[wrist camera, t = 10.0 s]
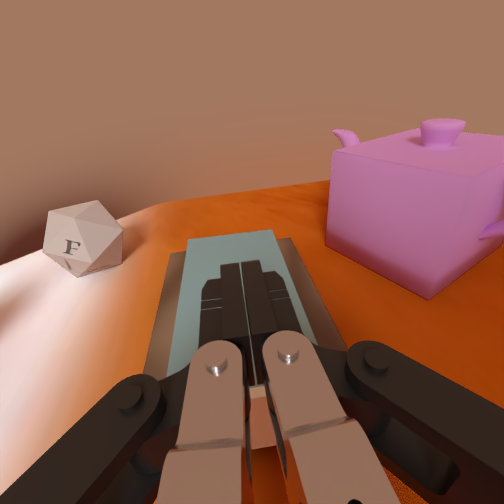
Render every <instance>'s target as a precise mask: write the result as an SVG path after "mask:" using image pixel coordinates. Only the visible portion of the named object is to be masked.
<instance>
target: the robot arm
mask: <svg viewBox="0 0 504 504" xmlns="http://www.w3.org/2000/svg"><path fill="white" fill-rule="evenodd" d="M241 270H242V278H243V286H244V294H243V287H242V280H241V273H240V266H239V262H237V263H230V264H222V265H220V276H221V278H217V279H210V280H207V282H206V283H205V285H204V287H203V288H202V292H201V311H200V327H199V344H198V350H197V351H196V352H195V354H194V355H193V357H192V359H191V362H190V363H189V364H188V365H187V366H186V367H185V368H183V369H182V370H180V371H178V372H176V373H174V374H172V375H170V376H168V377H166V378H164V379H161V380H159V381H157V380H156V379H155V378H154V377H152V376H150V375H147V374H137V375H133V376H130V377H127V378H125V379H124V380H122V381H120V382H119V383H117V384H116V385H115V386H114V387H113V388H112V389H111V390H110V391H109V392H108V393H107V394H106V395H105V396H104V397H102V398H101V399H100V400H99V401H98V402H97V403H96V404H95V405H94V406H93V407H92V408H91V409H90V410H89V411H88V412H87V413H86V414H85V415H84V416H83V417H82V418H81V419H80V420H79V421H78V422H76V423H75V424H74V425H73V426H72V427H71V428H70V429H69V430H68V431H67V432H66V433H65V434H64V435H63V436H62V437H61V438H60V439H59V440H58V441H57V442H56V443H55V444H54V445H53V446H51V447H50V448H49V449H48V450H47V451H46V452H45V453H44V454H43V455H42V456H41V457H40V458H39V459H38V460H37V461H36V462H35V463H34V464H33V465H32V466H31V467H30V468H29V469H28V470H27V471H25V472H24V473H23V474H22V475H21V476H20V477H19V478H18V479H17V480H16V481H15V482H14V483H13V484H12V485H11V486H10V487H9V488H8V489H7V490H6V491H5V492H4V493H3V494H2V495H1V496H0V504H153V502H154V501H155V499H156V498H157V501H156V504H255V503H254V491H253V469H252V442H251V416H250V411H251V398H250V389H249V386H255V378H254V370H253V362H252V353H251V345H250V337H251V344H252V351H253V358H254V365H255V372H256V379H257V385H261V384H264V387H265V393H266V399H267V409H268V414H269V418H270V422H271V427H272V431H273V435H274V439H275V443H276V447H277V452H278V456H279V460H280V464H281V468H282V472H283V476H284V481H285V486H286V491H287V497H288V503H289V504H401V503H400V501H399V499H398V497H397V495H396V493H395V491H394V489H393V487H392V485H391V483H390V481H389V479H388V477H387V475H386V473H385V471H384V469H383V467H382V465H383V466H384V467H385V468H386V469H387V470H389V471H390V472H391V473H392V474H394V475H395V476H396V477H397V478H398V479H400V480H401V481H402V482H403V483H405V484H406V485H407V486H408V487H409V488H411V489H412V490H413V491H414V492H415V493H417V494H418V495H419V496H420V497H422V498H423V499H424V500H425V501H426V502H428V503H429V504H504V409H503V408H501V407H499V406H497V405H496V404H494V403H492V402H490V401H488V400H486V399H485V398H483V397H481V396H479V395H477V394H475V393H473V392H472V391H470V390H468V389H466V388H464V387H462V386H461V385H459V384H457V383H455V382H453V381H451V380H450V379H448V378H446V377H444V376H442V375H440V374H438V373H437V372H435V371H433V370H431V369H429V368H427V367H426V366H424V365H422V364H420V363H418V362H416V361H414V360H413V359H411V358H409V357H407V356H405V355H403V354H402V353H400V352H398V351H396V350H394V349H392V348H390V347H389V346H387V345H385V344H382V343H379V342H375V341H361V342H358V343H356V344H354V345H353V346H351V347H350V349H349V350H348V352H347V351H339V350H332V349H326V348H323V347H320V346H318V345H315V344H314V343H312V342H311V341H310V340H309V339H308V338H306V336H305V335H304V334H303V332H302V330H301V327H300V324H299V321H298V318H297V316H296V313H295V310H294V307H293V304H292V302H291V299H290V296H289V293H288V290H287V287H286V285H285V282H284V279H283V278H282V277H281V276H280V275H279V274H278V273H277V272H276V271H269V272H263V271H262V267H261V263H260V260H252V261H244V262H241ZM244 295H245V301H244ZM245 302H246V308H245ZM246 310H247V315H246ZM247 316H248V322H247ZM248 323H249V329H248ZM249 330H250V337H249Z"/></svg>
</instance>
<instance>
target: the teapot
mask: <svg viewBox="0 0 504 504" xmlns="http://www.w3.org/2000/svg"><path fill="white" fill-rule="evenodd" d="M465 124H466V122H465V121H463V120H459V119H445V118H444V119H429V120H425V121H423V122H421V123H420V129H418V128H417V129H413V130H409V131H405V132H401V133H398V134H393V135H390V136H386V137H382V138H378V139H375V140H371V141H367V142H363V143H360V141H359V139H358V137H357V136H356V134H355V133H353V132H352V131H348V130H342V129H332V130H331V131H332V132H333V133H334V134H335V135H336V136H337V137H338V138H339V139H340V141H341V143H342V145H343V148H341V149H338V150H335V151H334V152H333V154H332V165H331V177H330V190H329V203H328V215H327V228H326V240H325V246H327V247H329V248H331V249H333V250H335V251H336V252H338V253H340V254H342V255H344V256H346V257H348V258H349V259H351V260H353V261H355V262H357V263H359V264H361V265H362V266H364V267H366V268H368V269H370V270H372V271H374V272H375V273H377V274H379V275H381V276H383V277H385V278H387V279H389V280H390V281H392V282H394V283H396V284H398V285H400V286H402V287H403V288H405V289H407V290H409V291H411V292H413V293H415V294H416V295H418V296H420V297H422V298H424V299H426V300H428V301H429V300H430V299H431V298H432V297H434V296H435V295H436V294H438V293H439V292H440V291H442V290H443V289H444V288H446V287H447V286H448V285H450V284H451V283H452V282H454V281H455V280H456V279H458V278H459V277H460V276H462V275H463V274H464V273H466V272H467V271H468V270H470V269H471V268H472V267H474V266H475V265H476V264H478V263H479V262H480V261H481V260H483V259H484V258H485V257H487V256H488V255H489V254H491V253H492V252H493V251H495V250H496V249H497V248H499V247H500V246H501V245H502V243H503V240H504V136H498V135H487V134H476V133H475V134H474V133H464V132H461V131H462V130H463V128H464V126H465Z"/></svg>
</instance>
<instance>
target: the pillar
mask: <svg viewBox="0 0 504 504" xmlns="http://www.w3.org/2000/svg"><path fill="white" fill-rule="evenodd" d="M252 260H260V263H261V267H262V271H263V272H269V271H276V272H277V273H278V274H279V275H280V276H281V277H282V278H283V279H284V282H285V285H286V287H287V290H288V293H289V296H290V299H291V302H292V304H293V307H294V310H295V313H296V316H297V318H298V321H299V324H300V327H301V330H302V332H303V334H304V335H305V336H306V338H308V339H309V340H310V341H311V342H312V343H314V344H315V345H318V344H317V342H316V339H315V337H314V334H313V332H312V329H311V327H310V324H309V321H308V319H307V316H306V314H305V311H304V309H303V306H302V304H301V301H300V299H299V296H298V294H297V291H296V289H295V286H294V284H293V281H292V279H291V276H290V274H289V271H288V269H287V266H286V264H285V261H284V259H283V256H282V253H281V251H280V248H279V246H278V243H277V241H276V238H275V236H274V233H273V231H272V229H270V230H262V231H254V232H246V233H237V234H229V235H221V236H213V237H205V238H197V239H189V240H188V244H187V250H186V257H185V263H184V269H183V275H182V282H181V288H180V294H179V301H178V307H177V313H176V320H175V326H174V332H173V338H172V345H171V351H170V357H169V364H168V370H167V376H166V377H168V376H170V375H172V374H174V373H176V372H178V371H180V370H182V369H183V368H185V367H186V366H187V365H188V364H189V363H190V362H191V359H192V357H193V355H194V354H195V352H196V351H197V350H198V344H199V327H200V311H201V292H202V288H203V287H204V285H205V283H206V282H207V280H210V279H217V278H221V276H220V265H222V264H230V263H237V262H239V266H240V273H241V280H242V287H243V294H244V286H243V278H242V270H241V262H244V261H252ZM244 301H245V295H244ZM245 308H246V302H245ZM246 315H247V310H246ZM247 322H248V316H247ZM248 329H249V323H248ZM249 337H250V330H249ZM250 345H251V353H252V362H253V370H254V378H255V386H249V389H250V398H251V411H250V416H251V442H252V449H258V448H263V447H269V446H275V445H276V443H275V439H274V435H273V431H272V427H271V422H270V418H269V414H268V409H267V399H266V393H265V387H264V384H261V385H257V379H256V372H255V365H254V358H253V351H252V344H251V337H250Z"/></svg>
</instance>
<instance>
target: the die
mask: <svg viewBox="0 0 504 504" xmlns="http://www.w3.org/2000/svg"><path fill="white" fill-rule="evenodd" d="M122 246H123V228H122V227H121V226H120V225H119V224H118V222H117V221H116V220H115V219H114V218H113V217H112V216H111V215H110V214H109V212H108V211H107V210H106V209H105V208H104V207H103V206H102V205H101V204H100V202H99V201H98V200H95V201H91V202H87V203H82V204H78V205H74V206H69V207H65V208H60V209H56V210H51V211H49V214H48V220H47V226H46V232H45V239H44V245H43V251H42V252H43V253H44V254H46V255H47V256H48V257H50V258H51V259H53V260H54V261H55V262H57V263H58V264H59V265H61V266H62V267H63V268H65V269H66V270H67V271H69V272H70V273H71V274H73V275H74V276H76V277H77V278H78V277H81V276H84V275H88V274H91V273H94V272H97V271H100V270H103V269H106V268H110V267H113V266H116V265H119V264H122Z"/></svg>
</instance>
